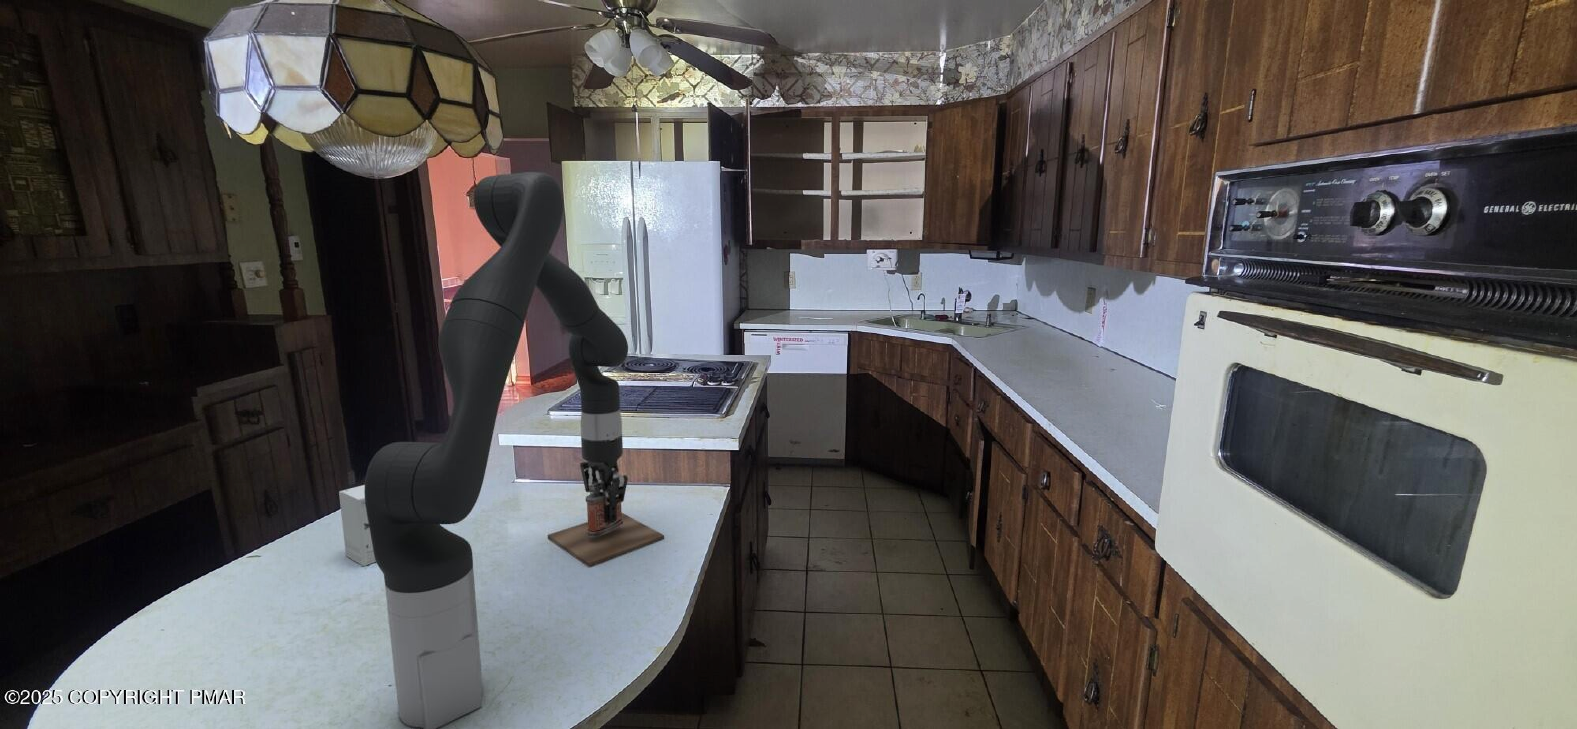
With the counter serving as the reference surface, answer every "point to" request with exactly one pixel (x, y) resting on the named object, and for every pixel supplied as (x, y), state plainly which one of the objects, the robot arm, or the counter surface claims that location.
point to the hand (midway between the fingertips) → (604, 518)
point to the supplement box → (356, 526)
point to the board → (605, 541)
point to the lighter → (600, 513)
